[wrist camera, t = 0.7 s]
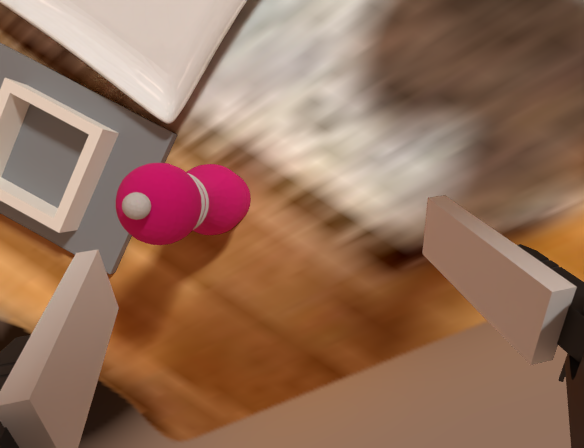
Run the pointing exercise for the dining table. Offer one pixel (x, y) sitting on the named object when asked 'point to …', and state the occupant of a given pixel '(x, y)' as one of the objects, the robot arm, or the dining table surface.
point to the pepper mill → (180, 202)
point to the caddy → (68, 157)
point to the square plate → (138, 42)
